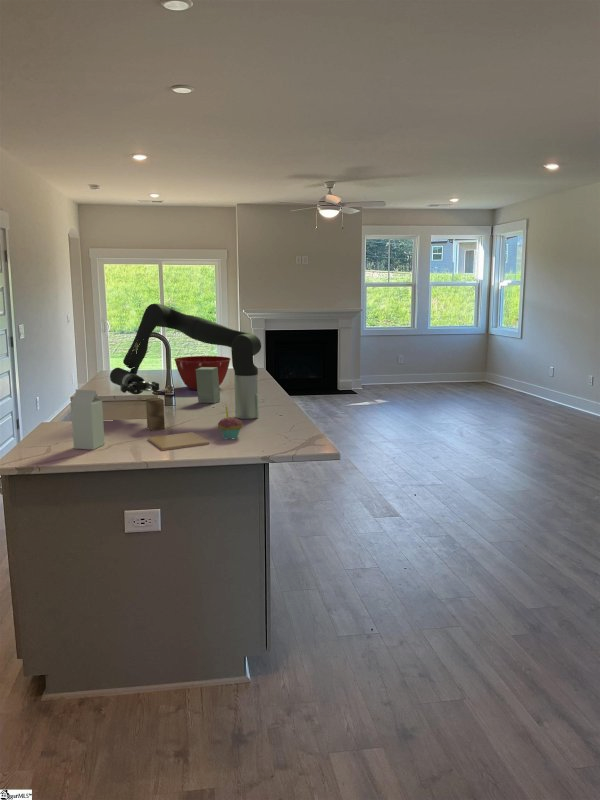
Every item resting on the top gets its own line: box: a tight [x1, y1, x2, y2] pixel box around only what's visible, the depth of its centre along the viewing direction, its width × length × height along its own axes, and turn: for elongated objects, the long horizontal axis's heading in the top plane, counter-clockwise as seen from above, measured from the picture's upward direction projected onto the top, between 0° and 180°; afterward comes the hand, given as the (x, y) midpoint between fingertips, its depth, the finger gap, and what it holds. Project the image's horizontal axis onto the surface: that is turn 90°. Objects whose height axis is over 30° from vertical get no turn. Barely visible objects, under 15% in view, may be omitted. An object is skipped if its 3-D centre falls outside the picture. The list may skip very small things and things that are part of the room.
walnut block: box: [145, 397, 166, 431], centre depth 228 cm, size 5×5×11 cm
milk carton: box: [70, 389, 105, 450], centre depth 201 cm, size 7×7×19 cm
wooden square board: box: [147, 431, 210, 451], centre depth 209 cm, size 16×16×1 cm
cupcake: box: [217, 405, 243, 440], centre depth 214 cm, size 9×8×12 cm
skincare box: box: [196, 367, 221, 404], centre depth 278 cm, size 8×7×16 cm
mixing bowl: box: [173, 355, 232, 391], centre depth 317 cm, size 28×28×16 cm
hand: (145, 390), depth 236 cm, fingers open, 8 cm apart
